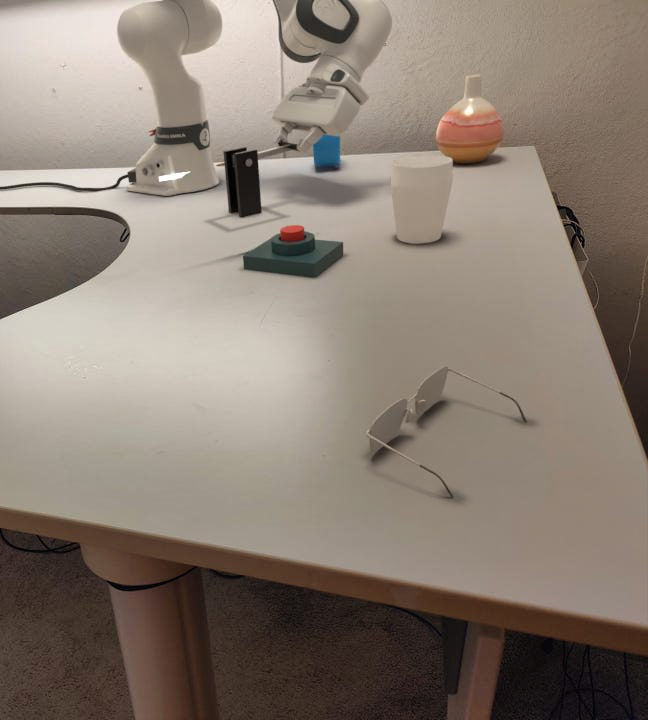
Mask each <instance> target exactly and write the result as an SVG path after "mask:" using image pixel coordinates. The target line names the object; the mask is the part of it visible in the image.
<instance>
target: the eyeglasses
mask: <svg viewBox="0 0 648 720" xmlns="http://www.w3.org/2000/svg"><path fill="white" fill-rule="evenodd" d="M449 372H452V373H454V374H456V375H459V376H461V377H462V378H465V379H467V380H470V381H471V382H474V383H477V384H479V385H481V386H483V387H484V388H487V389H489V390H492V391H494V392H496V393H498V394H500V395H502V396H503V397H506V398H507V399H510V400H511V401H512V402H514V404H515V405H516V406H517V408H518V411H519V413H520V415H521V418H522V420H523V423H528V420H527V419H526V417H525V414H524V411H523V410H522V408H521V406H520V404H519V403H518V401H517V400H516V399H514V398H513V397H512V396H510V395H507V394H505V393H504V392H502V391H499V390H497V389H494V387H493V388H492V387H491V386H489V385H486V384H485V383H483V382H480V381H479V380H477V379H474V378H472V377H470V376H468V375H466V374H463V373H462V372H459V371H458V370H455V369H452V368H450V367H448V366H447V365H444V366H441V367H440V368H438V369H437V370H435V371H433V372H432V373H431V374H430V375H428V376H427V377H426V378H424V380H423V381H422V382H421V383H420V385H419V386H418V388H417V389H416V392H415V394H414V395H413V396H412V397H410V398H409V399H406V398H401V399H398V400H396V401H395V402H393V403H392V404H391V405H390V406H388V407H387V408H385V410H384V411H382V412H381V413H380V414H379V415H378V416H377V417H376V418H375V419H374V421H373V422H372V423H371V425H370V429H368V430H367V431H366V432H365V436H366V438H368V439H369V448H370V451H371V452H372V453H376V452H378V451H379V450H381V449H382V448H383V447H384V448H386V449H388V450H390V451H392V452H394V453H395V454H397V455H399V456H401V457H402V458H404V459H406V460H408V461H409V462H411V463H413V464H415V465H417V466H418V467H420V468H421V469H423V470H425V471H426V472H429V473H431V474H433V475H434V476H436V478H438V479H439V480H440V481H441V483H442V484H443V486H444V489H446V491H447V493H448V494H449V496H450V497H453V498H454V495H453V493H452V492H451V490H450V488H449V486H448V485H447V484H446V481H444V480H443V478H442V477H441V476H440V475H439V474H438V473H436V472H434V471H433V470H432V469H430V468H428V467H426V466H424V465H422V464H421V463H418V462H416V461H415V460H413V459H411V458H409V457H408V456H406V455H405V454H403V453H401V452H400V451H398V450H396V449H395V448H393V447H391V446H389V445H388V443H389V442H390V441H391V440H392V439H393V438H394V437H395V436H396V435H397V434H398V432H400V431H399V430H400V429H401V427H402V425H403V421H404V419H405V417H406V420H405V423H409V422H410V421H411V418H412V415H413V409H412V408H409V409H407V407H408V404H409V403H410V402H411V401H412V400H413V399H414V407H415V408H414V409H415V414H416V415H417V416H420V415H422V414H424V413H425V412H426V411H428V410H430V409H431V408H432V407H433V406H434V405H435V404H436V403H437V402H438V401H439V399H441V396H442V394H443V391H444V388H445V385H446V381H447V377H448V373H449Z"/></svg>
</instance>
